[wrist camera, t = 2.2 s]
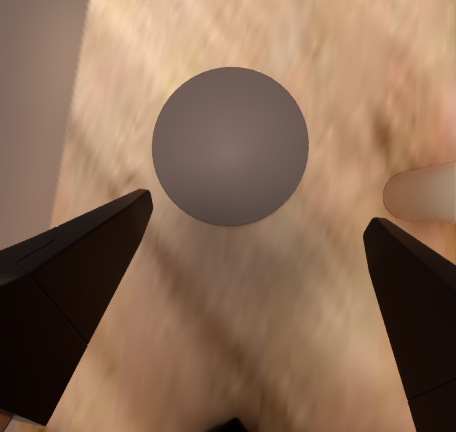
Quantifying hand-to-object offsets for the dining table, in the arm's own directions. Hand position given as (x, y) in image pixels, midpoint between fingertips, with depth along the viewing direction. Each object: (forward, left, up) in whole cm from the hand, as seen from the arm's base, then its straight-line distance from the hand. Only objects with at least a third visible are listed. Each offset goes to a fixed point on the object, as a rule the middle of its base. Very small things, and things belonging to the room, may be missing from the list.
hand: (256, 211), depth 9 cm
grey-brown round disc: (+6, -2, -15) cm, 16 cm away
